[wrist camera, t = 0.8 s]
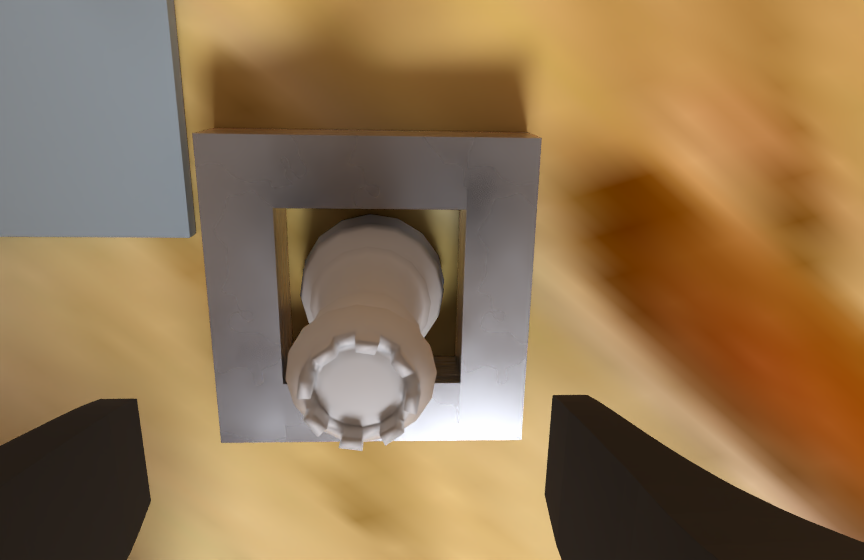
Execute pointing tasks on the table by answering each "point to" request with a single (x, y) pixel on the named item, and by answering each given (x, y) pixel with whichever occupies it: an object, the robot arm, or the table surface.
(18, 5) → the mat
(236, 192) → the square collar
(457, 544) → the table surface
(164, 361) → the table surface
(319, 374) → the rook chess piece
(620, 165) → the table surface
